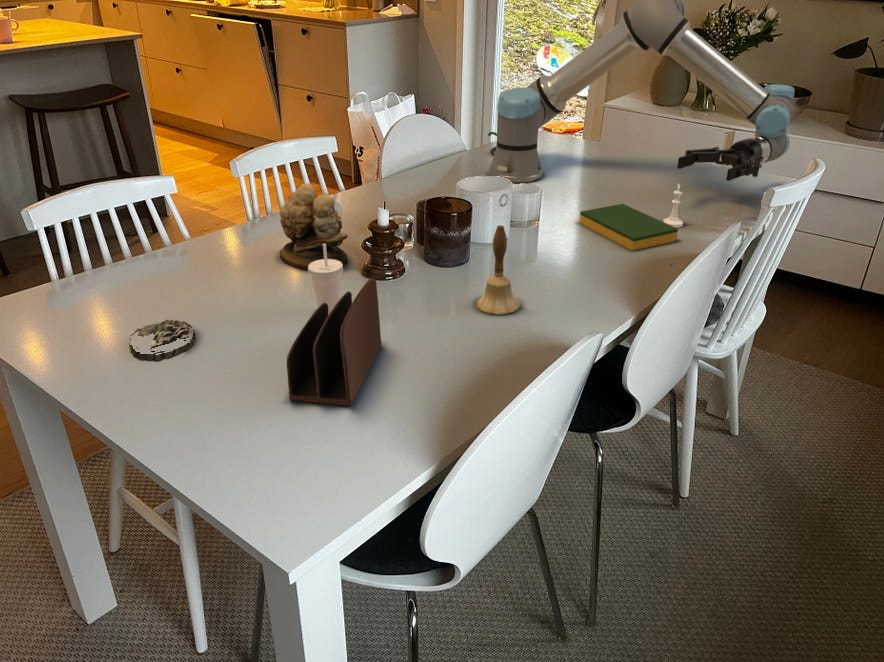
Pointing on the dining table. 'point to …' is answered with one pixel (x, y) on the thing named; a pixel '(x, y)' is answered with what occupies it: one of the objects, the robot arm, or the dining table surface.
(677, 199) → the chess piece
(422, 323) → the dining table surface
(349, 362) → the letter holder
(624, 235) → the sponge pad
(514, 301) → the hand bell
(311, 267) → the smoothie
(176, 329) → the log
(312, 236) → the owl figurine
